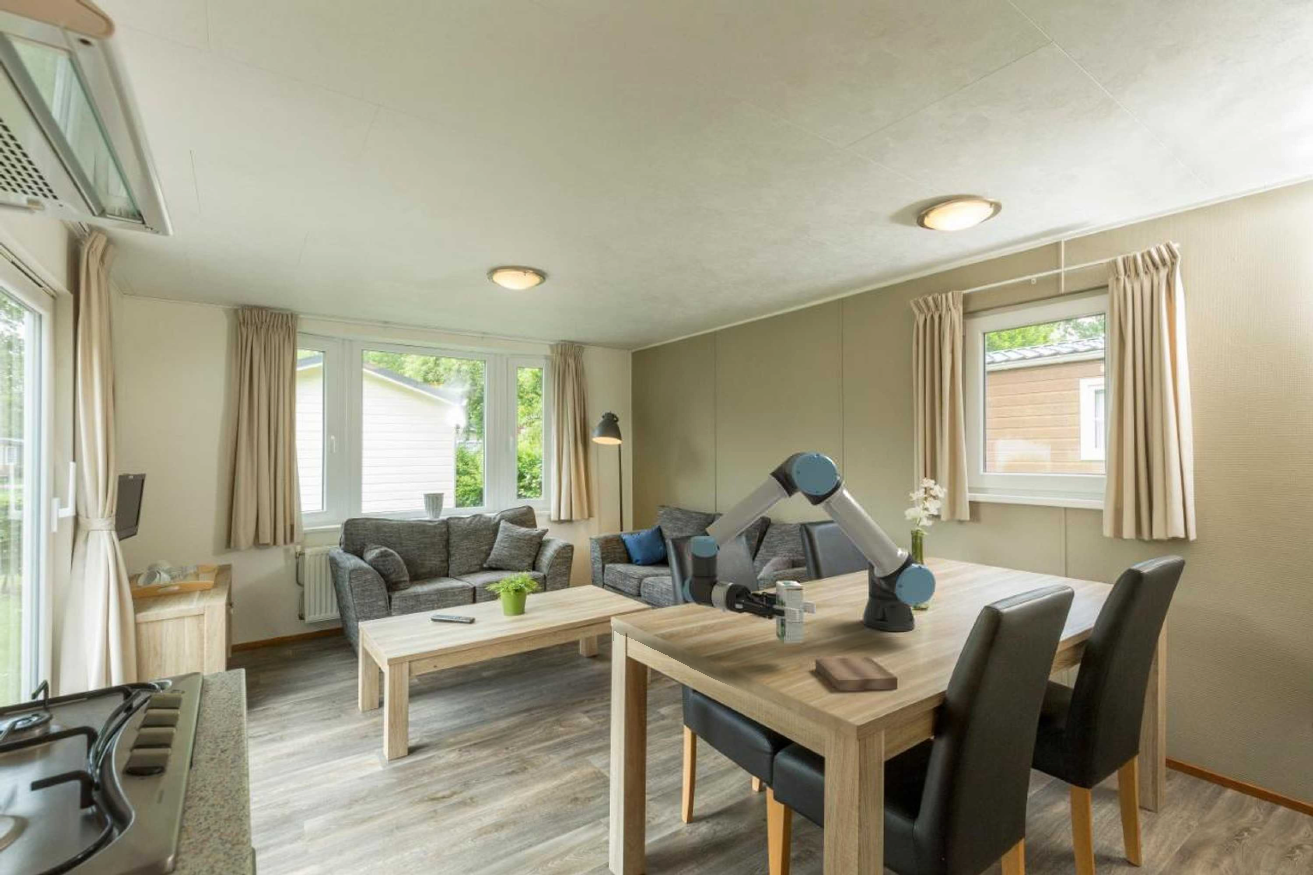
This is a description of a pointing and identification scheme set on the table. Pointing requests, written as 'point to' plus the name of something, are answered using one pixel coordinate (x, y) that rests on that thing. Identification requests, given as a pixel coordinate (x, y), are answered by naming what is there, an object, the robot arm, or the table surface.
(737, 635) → the table surface
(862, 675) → the walnut board
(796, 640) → the syrup box
